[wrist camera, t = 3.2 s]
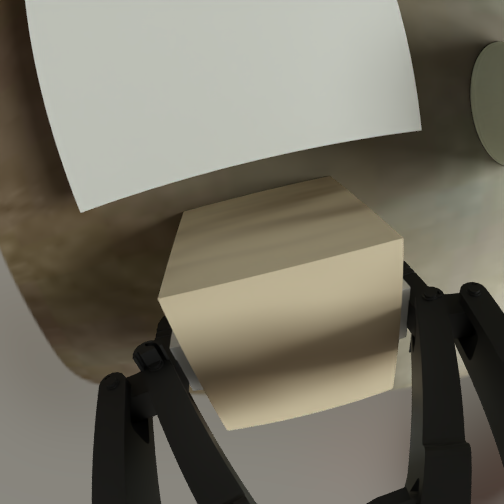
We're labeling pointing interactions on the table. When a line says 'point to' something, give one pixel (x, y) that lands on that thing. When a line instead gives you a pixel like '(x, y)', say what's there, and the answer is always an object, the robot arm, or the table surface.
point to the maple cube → (286, 301)
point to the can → (489, 99)
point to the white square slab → (212, 84)
